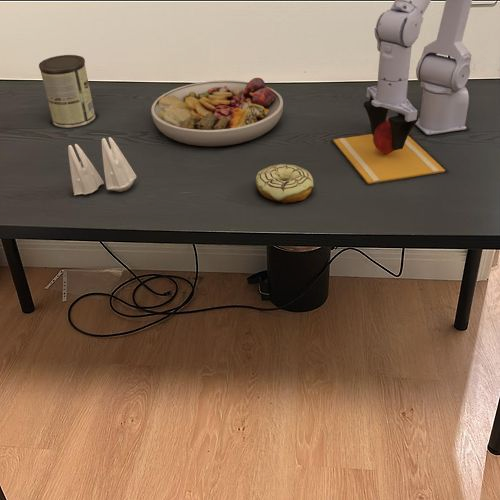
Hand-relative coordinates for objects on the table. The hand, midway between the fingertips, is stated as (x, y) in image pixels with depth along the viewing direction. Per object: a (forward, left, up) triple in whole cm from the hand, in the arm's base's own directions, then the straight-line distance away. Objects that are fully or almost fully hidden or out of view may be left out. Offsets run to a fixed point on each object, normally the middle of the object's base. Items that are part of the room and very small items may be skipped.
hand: (387, 141), depth 128 cm
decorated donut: (+24, +8, -3) cm, 25 cm away
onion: (0, 0, -3) cm, 3 cm away
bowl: (+30, -27, -3) cm, 41 cm away
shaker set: (+57, -3, -3) cm, 57 cm away
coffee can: (+63, -41, -3) cm, 75 cm away
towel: (0, 0, -3) cm, 3 cm away
